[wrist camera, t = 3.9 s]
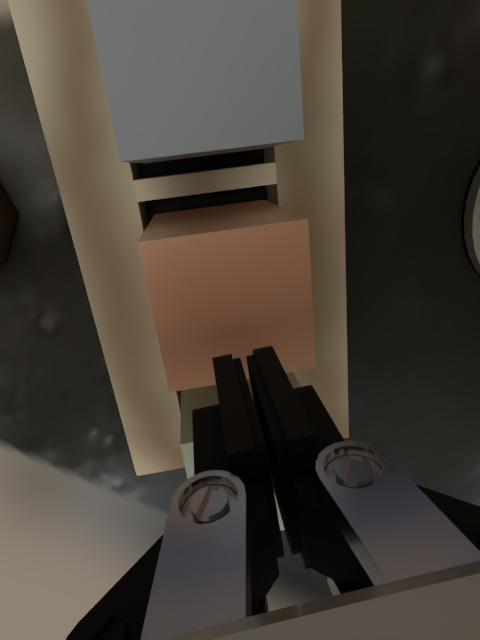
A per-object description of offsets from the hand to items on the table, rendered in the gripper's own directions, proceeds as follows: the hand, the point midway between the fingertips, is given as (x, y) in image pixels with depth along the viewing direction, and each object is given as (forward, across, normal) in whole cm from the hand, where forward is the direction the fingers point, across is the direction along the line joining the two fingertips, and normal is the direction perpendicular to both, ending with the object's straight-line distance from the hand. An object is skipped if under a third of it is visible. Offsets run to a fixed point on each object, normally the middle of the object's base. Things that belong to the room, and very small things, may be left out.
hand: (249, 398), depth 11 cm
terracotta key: (+12, 0, -1) cm, 12 cm away
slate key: (+12, -1, -9) cm, 15 cm away
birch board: (+14, 0, -1) cm, 15 cm away
